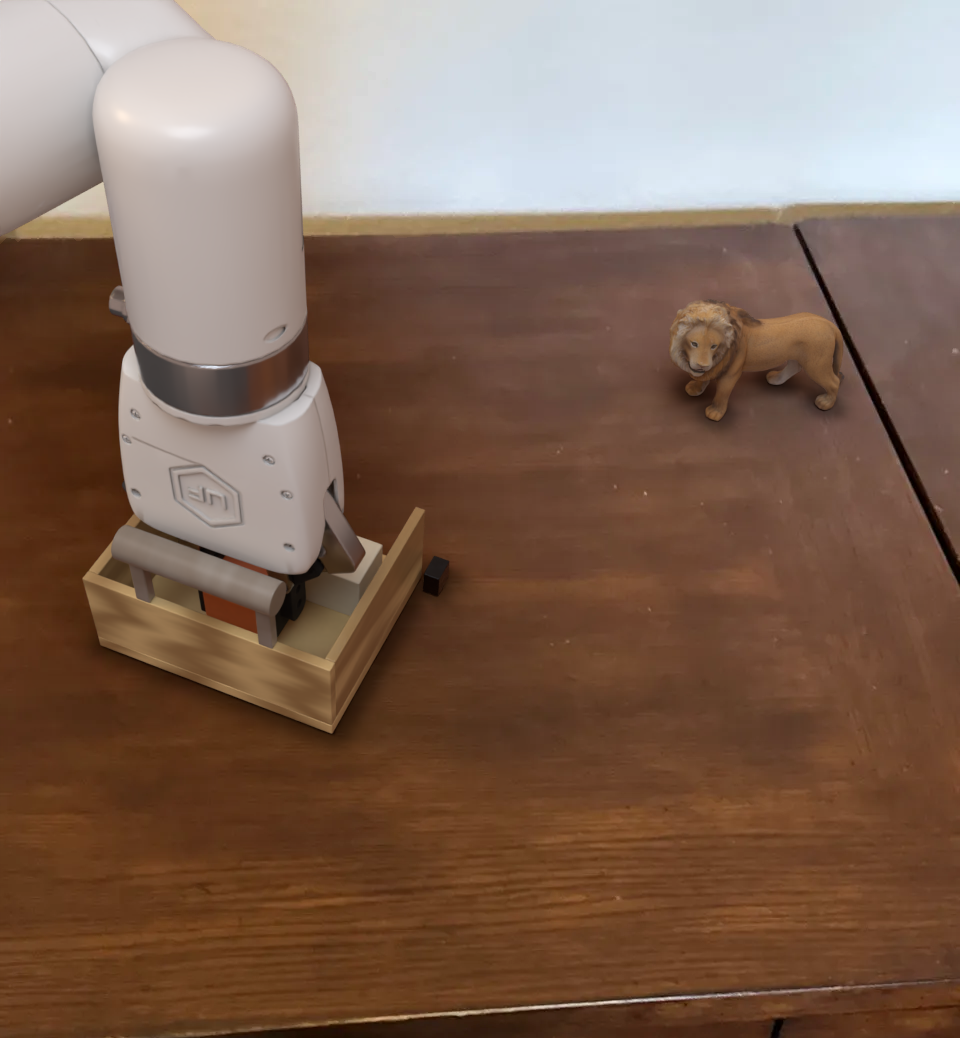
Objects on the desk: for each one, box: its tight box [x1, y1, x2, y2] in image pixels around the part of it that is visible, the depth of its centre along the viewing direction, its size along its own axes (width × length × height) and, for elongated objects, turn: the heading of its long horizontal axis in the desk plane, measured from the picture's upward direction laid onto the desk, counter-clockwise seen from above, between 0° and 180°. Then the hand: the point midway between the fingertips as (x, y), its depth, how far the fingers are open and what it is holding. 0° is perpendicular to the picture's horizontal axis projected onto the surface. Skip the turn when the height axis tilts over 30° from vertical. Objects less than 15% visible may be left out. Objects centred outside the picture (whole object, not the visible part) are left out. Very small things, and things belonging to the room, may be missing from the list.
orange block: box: [203, 555, 268, 634], centre depth 68 cm, size 4×3×3 cm
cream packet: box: [305, 535, 383, 616], centre depth 71 cm, size 4×3×3 cm
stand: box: [422, 555, 450, 597], centre depth 75 cm, size 17×2×2 cm, turn 68°
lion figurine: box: [668, 298, 845, 422], centre depth 83 cm, size 15×5×9 cm, turn 110°
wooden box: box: [82, 506, 426, 734], centre depth 68 cm, size 14×13×11 cm
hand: (252, 604), depth 69 cm, fingers closed on orange block, 3 cm apart
